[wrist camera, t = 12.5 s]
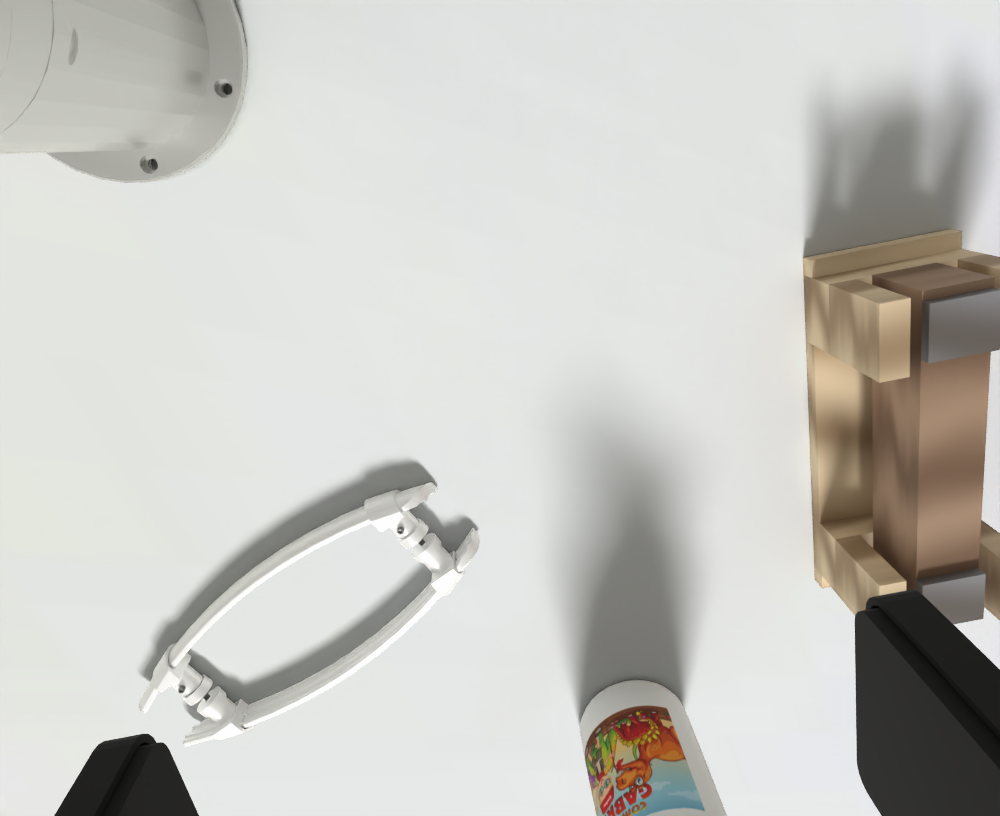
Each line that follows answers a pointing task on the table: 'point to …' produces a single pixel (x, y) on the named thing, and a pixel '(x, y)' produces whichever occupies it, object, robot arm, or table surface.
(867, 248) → the wooden cradle stand
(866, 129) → the table surface
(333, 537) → the door handle
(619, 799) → the milk bottle
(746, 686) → the table surface
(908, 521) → the rail
